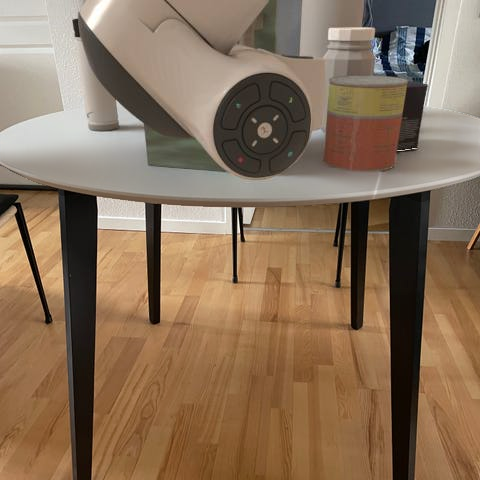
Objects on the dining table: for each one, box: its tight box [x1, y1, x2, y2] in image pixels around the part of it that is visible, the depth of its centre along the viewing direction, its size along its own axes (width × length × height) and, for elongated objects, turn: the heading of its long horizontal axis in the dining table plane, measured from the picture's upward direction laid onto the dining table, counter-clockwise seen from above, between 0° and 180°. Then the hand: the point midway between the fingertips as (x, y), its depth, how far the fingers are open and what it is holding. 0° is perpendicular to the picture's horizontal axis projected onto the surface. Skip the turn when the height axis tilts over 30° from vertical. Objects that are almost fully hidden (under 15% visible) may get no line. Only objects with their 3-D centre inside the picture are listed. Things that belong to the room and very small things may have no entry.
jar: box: [320, 26, 377, 134], centre depth 96 cm, size 10×10×18 cm
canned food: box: [322, 75, 409, 173], centre depth 76 cm, size 11×11×12 cm
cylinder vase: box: [299, 0, 366, 58], centre depth 107 cm, size 12×12×25 cm
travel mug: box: [71, 18, 120, 132], centre depth 99 cm, size 6×7×20 cm
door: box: [143, 0, 279, 173], centre depth 68 cm, size 6×20×22 cm, turn 73°
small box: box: [397, 80, 429, 150], centre depth 87 cm, size 11×6×10 cm, turn 21°
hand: (221, 82), depth 58 cm, fingers closed
